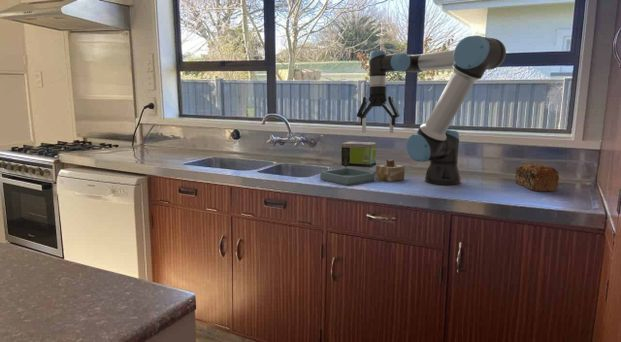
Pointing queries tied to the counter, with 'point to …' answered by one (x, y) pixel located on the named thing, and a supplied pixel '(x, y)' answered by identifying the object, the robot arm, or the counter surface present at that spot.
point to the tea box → (359, 156)
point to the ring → (390, 172)
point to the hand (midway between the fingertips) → (377, 132)
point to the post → (390, 163)
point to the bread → (537, 177)
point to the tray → (347, 176)
